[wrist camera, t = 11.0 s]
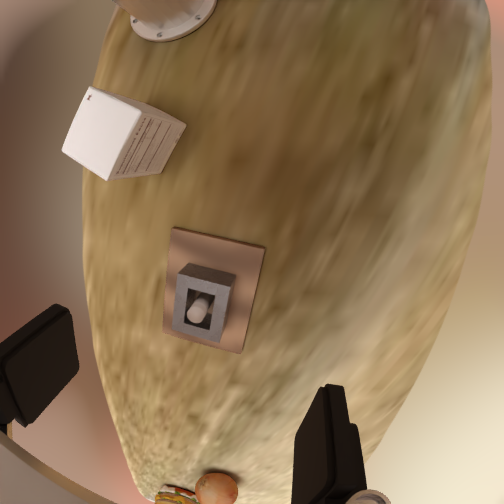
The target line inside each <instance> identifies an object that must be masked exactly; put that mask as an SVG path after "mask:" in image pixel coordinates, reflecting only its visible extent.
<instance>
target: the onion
mask: <svg viewBox="0 0 504 504" xmlns="http://www.w3.org/2000/svg"><path fill="white" fill-rule="evenodd" d="M195 494H196V498H197V500H198V501H199V503H200V504H233V503H234V502H235V501H236V499H237V496H238V488H237V485H236V483H235V481H234V480H233V479H232V478H231V477H229V476H228V475H226V474H223V473H210V474H206V475H204V476H203V477H201V478H200V479H199V480H198V481H197V483H196V486H195Z"/></svg>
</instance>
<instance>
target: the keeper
mask: <svg viewBox="0 0 504 504" xmlns="http://www.w3.org/2000/svg"><path fill="white" fill-rule="evenodd" d="M264 251H265V247H262V246H257V245H253V244H249V243H244V242H240V241H236V240H231V239H227V238H222V237H218V236H214V235H209V234H205V233H200V232H196V231H191V230H187V229H182V228H178V227H173V228H172V230H171V238H170V247H169V256H168V266H167V276H166V287H165V300H164V314H163V330H162V333H165V334H169V335H172V336H175V337H178V338H182V339H185V340H189V341H192V342H196V343H199V344H203V345H206V346H210V347H214V348H218V349H221V350H225V351H229V352H233V353H237V354H241V352H242V348H243V343H244V339H245V335H246V330H247V326H248V322H249V317H250V313H251V309H252V304H253V300H254V295H255V291H256V287H257V282H258V278H259V273H260V269H261V264H262V260H263V255H264ZM188 262H189V263H193V264H196V265H200V266H204V267H208V268H212V269H216V270H220V271H224V272H228V273H232V274H236V280H235V285H234V289H233V294H232V299H231V304H230V309H229V314H228V319H227V324H226V328H225V330H224V333H223V335H222V338H221V340H220V343H217V342H213V341H210V340H206V339H203V338H199V337H196V336H192V335H189V334H186V333H182V332H179V331H176V330H173V329H172V321H173V310H174V301H175V291H176V283H177V274H178V272H179V271H180V270H181V269H182V268H183V267H184V266H185V265H186V264H187V263H188ZM215 296H216V295H212V294H208V293H205V292H201V291H197V290H196V292H195V299H194V303H193V304H192V306H191V307H190V309H189V310H188V312H187V317H188V319H189V320H190V321H191V322H193V323H200V322H201V321H202V320H203V318H204V317H205V315H206V313H210V314H212V313H213V307H214V301H215Z"/></svg>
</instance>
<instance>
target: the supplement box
mask: <svg viewBox="0 0 504 504" xmlns="http://www.w3.org/2000/svg"><path fill="white" fill-rule="evenodd" d="M186 126H187V125H186V124H185V123H183V122H181V121H180V120H178V119H176V118H174V117H172V116H170V115H169V114H167V113H165V112H163V111H161V110H159V109H157V108H154V107H152V106H150V105H148V104H146V103H143V102H140V101H137V100H134V99H131V98H128V97H124V96H121V95H118V94H115V93H112V92H108V91H105V90H102V89H98V88H95V87H91V86H90V87H89V89H88V91H87V92H86V94H85V96H84V99H83V100H82V102H81V105H80V107H79V109H78V111H77V113H76V115H75V118H74V120H73V122H72V125H71V127H70V130H69V132H68V135H67V137H66V140H65V142H64V145H63V148H62V152H64V153H65V154H67V155H68V156H69V157H71V158H73V159H74V160H75V161H77V162H78V163H80V164H82V165H83V166H84V167H86V168H87V169H89V170H90V171H92V172H94V173H95V174H97V175H98V176H100V177H101V178H103V179H104V180H106V181H110V180H117V179H124V178H131V177H139V176H146V175H154V174H160V173H161V172H162V170H163V168H164V166H165V164H166V162H167V160H168V159H169V157H170V155H171V153H172V151H173V149H174V147H175V146H176V144H177V142H178V140H179V138H180V137H181V135H182V133H183V131H184V130H185V128H186Z"/></svg>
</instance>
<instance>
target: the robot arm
mask: <svg viewBox="0 0 504 504" xmlns="http://www.w3.org/2000/svg"><path fill="white" fill-rule="evenodd" d="M112 1H114V2H115V3H116V4H117V5H119V6H120V7H121V8H123V9H124V10H125V11H127V12H128V13H129V14H131V15H130V21H131V26H132V28H133V30H134V31H135V32H136V33H137V34H138V35H139V36H141V37H142V38H144V39H146V40H149V41H154V42H165V41H172V40H175V39H178V38H181V37H183V36H186V35H188V34H189V33H191V32H193V31H194V30H196V29H197V28H199V27H200V26H201V25H202V24H203V23H204V22H205V21H206V20H207V19H208V18H209V17H210V15H211V14H212V12H213V11H214V8H215V6H216V2H217V0H112ZM199 19H200V20H199ZM78 370H79V361H78V355H77V350H76V343H75V336H74V329H73V321H72V315H71V314H70V311H69V309H67V308H66V307H63V306H61V305H59V304H54V305H52V306H51V307H49V308H48V309H46V310H45V311H43V312H42V313H41V314H39V315H38V316H36V317H35V318H34V319H32V320H31V321H30V322H28V323H27V324H25V325H24V326H23V327H22V328H20V329H19V330H17V331H16V332H15V333H13V334H12V335H11V336H9V337H8V338H7V339H5V340H4V341H3V342H1V343H0V504H117V503H114V502H112V501H110V500H108V499H106V498H104V497H102V496H100V495H98V494H96V493H94V492H92V491H90V490H88V489H86V488H84V487H82V486H80V485H79V484H77V483H75V482H73V481H71V480H70V479H68V478H66V477H65V476H63V475H62V474H60V473H58V472H56V471H55V470H53V469H52V468H50V467H48V466H47V465H46V464H44V463H43V462H41V461H40V460H38V459H37V458H35V457H34V456H32V455H31V454H30V453H28V452H27V451H26V450H24V449H23V448H22V447H20V446H19V445H18V444H16V443H15V442H14V441H13V440H12V420H13V419H14V418H15V420H16V421H17V422H18V423H19V424H21V425H22V426H23V427H26V426H27V425H28V424H31V423H33V422H34V421H35V420H36V418H38V416H39V415H40V414H41V413H42V412H43V411H44V410H45V408H46V407H47V406H48V405H49V404H50V403H51V402H52V400H53V399H54V398H55V397H56V396H57V395H58V394H59V392H60V391H61V390H62V389H63V388H64V387H65V386H66V385H67V384H68V382H69V381H70V380H71V379H72V378H73V377H74V376H75V375H76V374H77V372H78ZM291 504H391V502H390V501H389V499H388V498H387V497H386V496H385V495H384V494H383V493H381V492H378V491H376V490H367V484H366V476H365V469H364V463H363V456H362V450H361V443H360V437H359V431H358V427H357V425H356V424H353V423H350V421H349V415H348V409H347V403H346V397H345V391H344V387H343V386H340V385H333V384H326V385H325V387H320V388H319V389H318V391H317V393H316V395H315V397H314V400H313V402H312V404H311V406H310V408H309V410H308V412H307V414H306V416H305V418H304V419H303V421H302V423H301V425H300V427H299V429H298V431H297V433H296V436H295V441H294V464H293V482H292V498H291Z"/></svg>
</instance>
